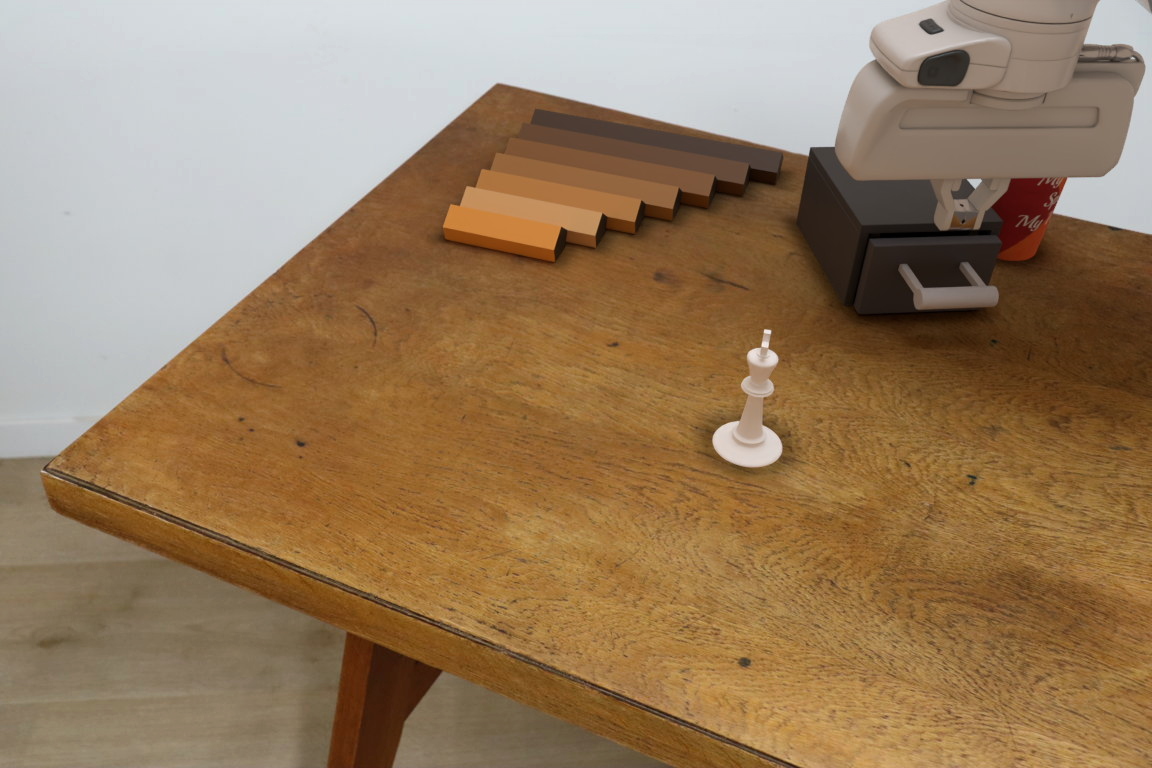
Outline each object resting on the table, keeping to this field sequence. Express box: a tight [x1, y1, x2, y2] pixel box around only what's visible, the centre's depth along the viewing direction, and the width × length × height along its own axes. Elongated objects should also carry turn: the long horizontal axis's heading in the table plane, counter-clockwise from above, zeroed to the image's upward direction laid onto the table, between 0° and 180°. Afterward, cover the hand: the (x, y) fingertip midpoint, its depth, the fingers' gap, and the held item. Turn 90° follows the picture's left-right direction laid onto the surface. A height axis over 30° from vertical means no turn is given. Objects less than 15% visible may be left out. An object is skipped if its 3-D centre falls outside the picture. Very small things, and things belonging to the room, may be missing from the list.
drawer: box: [853, 230, 1002, 315], centre depth 90 cm, size 18×10×6 cm, turn 7°
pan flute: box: [442, 108, 784, 263], centre depth 101 cm, size 25×3×25 cm
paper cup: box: [991, 178, 1068, 262], centre depth 95 cm, size 8×8×14 cm
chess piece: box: [711, 328, 783, 468], centre depth 73 cm, size 5×5×10 cm
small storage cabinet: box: [795, 146, 1003, 307], centre depth 94 cm, size 14×12×8 cm
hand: (955, 226), depth 82 cm, fingers closed
